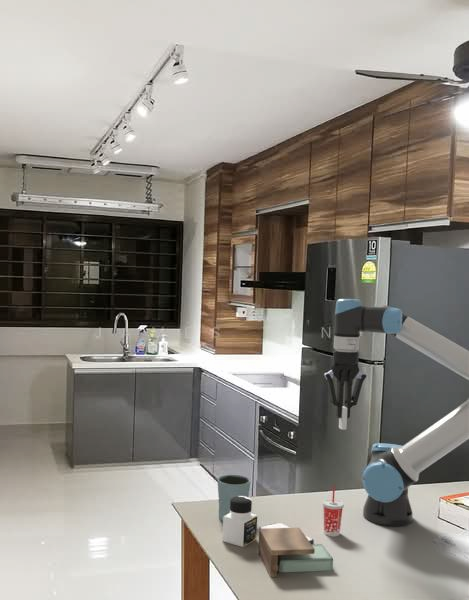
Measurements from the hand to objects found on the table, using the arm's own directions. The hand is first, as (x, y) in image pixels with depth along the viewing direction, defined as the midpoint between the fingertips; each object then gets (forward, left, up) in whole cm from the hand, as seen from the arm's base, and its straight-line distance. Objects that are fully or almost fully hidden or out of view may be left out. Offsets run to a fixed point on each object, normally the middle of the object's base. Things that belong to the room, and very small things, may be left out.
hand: (342, 428), depth 197 cm
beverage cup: (+4, +6, -30) cm, 30 cm away
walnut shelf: (+23, +25, -29) cm, 45 cm away
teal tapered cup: (+31, -8, -30) cm, 44 cm away
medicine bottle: (+32, +9, -30) cm, 44 cm away
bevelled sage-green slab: (+19, +25, -29) cm, 43 cm away
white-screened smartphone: (+18, +7, -30) cm, 36 cm away
